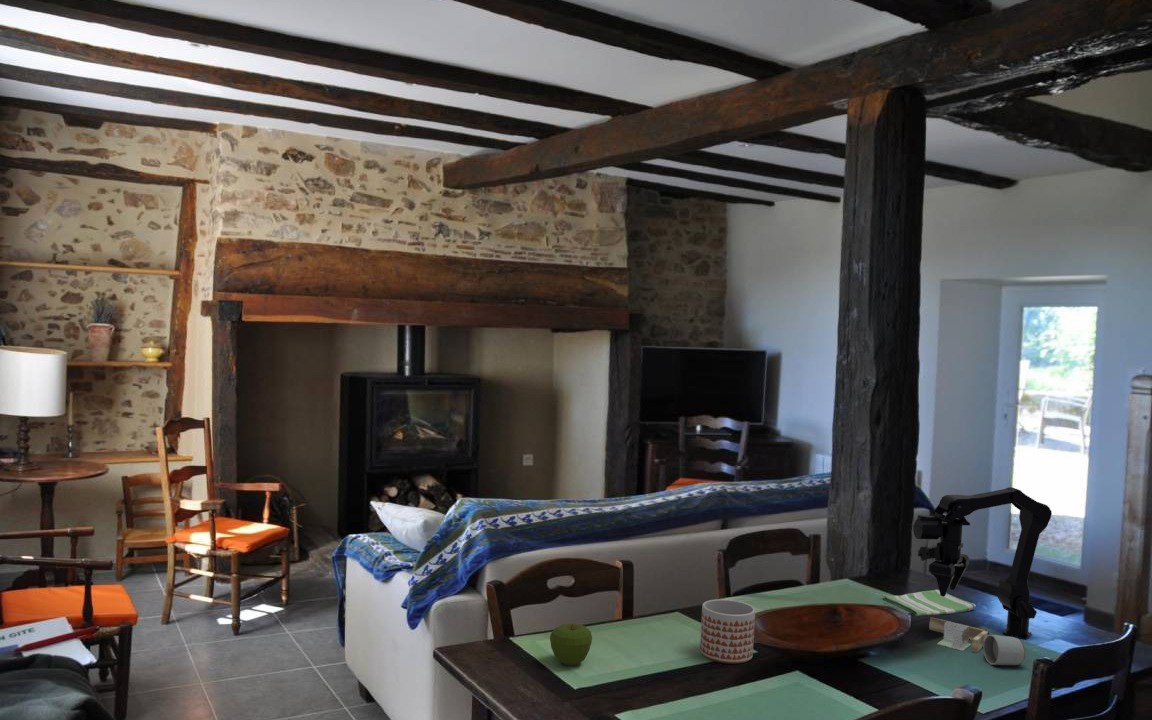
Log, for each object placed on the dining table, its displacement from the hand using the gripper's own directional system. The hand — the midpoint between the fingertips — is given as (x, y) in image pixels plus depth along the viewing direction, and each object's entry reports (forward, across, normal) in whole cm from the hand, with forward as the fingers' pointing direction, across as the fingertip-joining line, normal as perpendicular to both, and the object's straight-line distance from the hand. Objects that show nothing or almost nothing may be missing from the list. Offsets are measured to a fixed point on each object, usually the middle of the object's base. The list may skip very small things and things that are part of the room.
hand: (947, 592), depth 264 cm
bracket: (+12, +8, +5) cm, 15 cm away
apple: (+11, +97, -62) cm, 116 cm away
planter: (+12, +63, -37) cm, 74 cm away
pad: (+12, +8, +5) cm, 15 cm away
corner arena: (+12, +4, +3) cm, 13 cm away
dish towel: (+13, -25, -13) cm, 31 cm away
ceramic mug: (+12, +13, +18) cm, 25 cm away
